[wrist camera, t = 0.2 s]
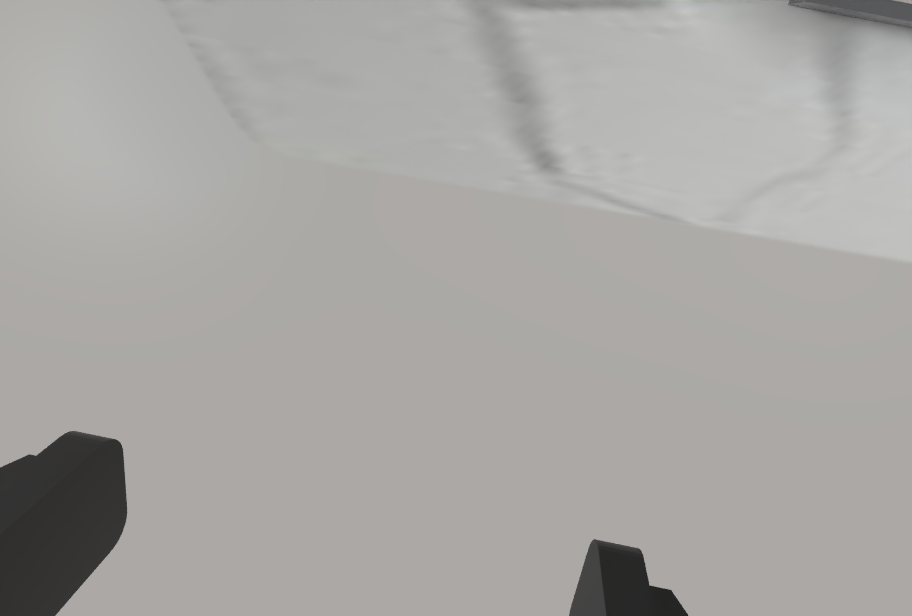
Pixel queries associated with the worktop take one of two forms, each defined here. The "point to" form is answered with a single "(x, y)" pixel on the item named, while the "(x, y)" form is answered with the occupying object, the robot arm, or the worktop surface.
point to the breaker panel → (865, 9)
